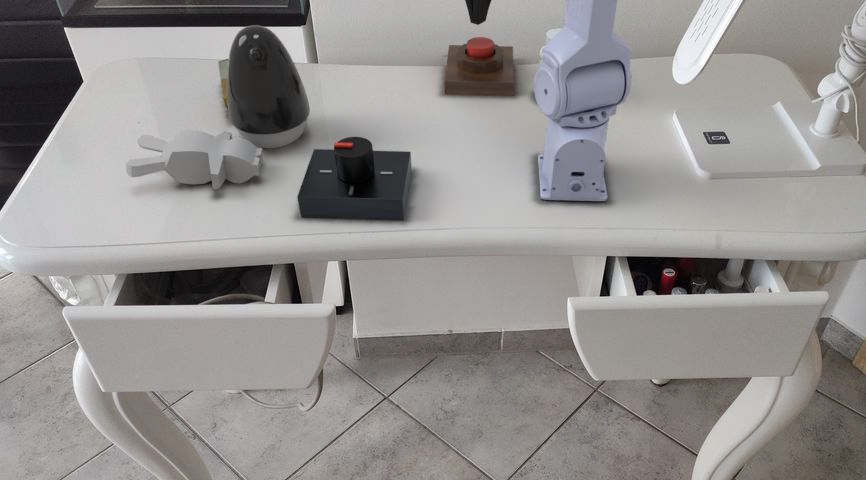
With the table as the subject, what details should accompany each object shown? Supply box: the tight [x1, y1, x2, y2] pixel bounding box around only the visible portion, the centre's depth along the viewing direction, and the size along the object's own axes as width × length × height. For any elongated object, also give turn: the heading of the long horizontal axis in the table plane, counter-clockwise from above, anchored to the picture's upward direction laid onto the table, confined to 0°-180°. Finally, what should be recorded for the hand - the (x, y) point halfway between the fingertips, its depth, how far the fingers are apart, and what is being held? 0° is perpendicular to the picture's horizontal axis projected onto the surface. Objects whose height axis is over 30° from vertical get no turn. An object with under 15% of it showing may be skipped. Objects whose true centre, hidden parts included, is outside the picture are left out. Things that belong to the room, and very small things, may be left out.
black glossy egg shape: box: [227, 24, 311, 149], centre depth 90 cm, size 10×10×15 cm
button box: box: [444, 43, 515, 97], centre depth 108 cm, size 12×10×4 cm
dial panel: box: [296, 148, 413, 221], centre depth 85 cm, size 10×12×3 cm
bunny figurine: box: [125, 129, 264, 190], centre depth 87 cm, size 10×5×15 cm
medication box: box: [217, 58, 229, 111], centre depth 101 cm, size 12×3×4 cm, turn 18°
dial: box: [333, 136, 375, 183], centre depth 83 cm, size 4×4×4 cm
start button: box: [466, 36, 495, 59], centre depth 106 cm, size 4×4×2 cm
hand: (478, 21), depth 103 cm, fingers closed
